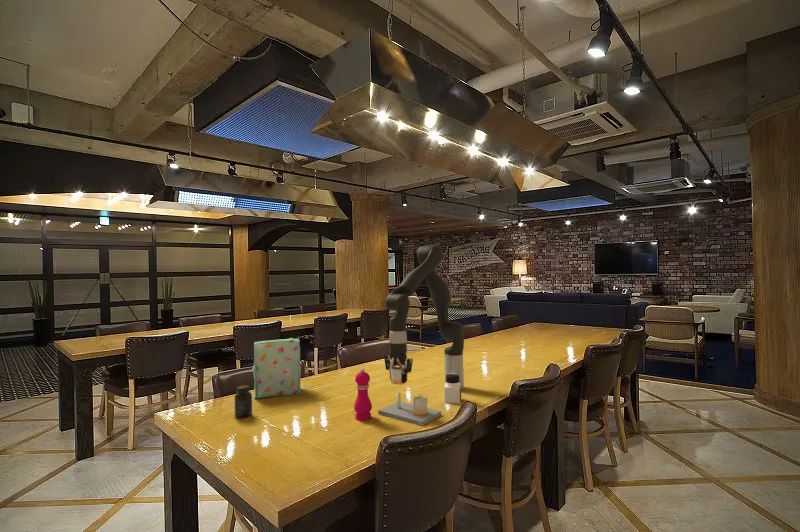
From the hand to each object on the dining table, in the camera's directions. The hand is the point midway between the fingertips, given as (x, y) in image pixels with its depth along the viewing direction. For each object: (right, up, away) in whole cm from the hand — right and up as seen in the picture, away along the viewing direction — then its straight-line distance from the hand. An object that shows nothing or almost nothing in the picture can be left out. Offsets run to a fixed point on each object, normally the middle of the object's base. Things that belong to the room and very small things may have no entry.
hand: (398, 381), depth 165 cm
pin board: (+5, -13, -4) cm, 14 cm away
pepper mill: (-14, -13, -7) cm, 20 cm away
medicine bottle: (+25, -13, +13) cm, 31 cm away
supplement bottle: (-65, -14, -2) cm, 66 cm away
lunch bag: (-60, -15, +29) cm, 68 cm away
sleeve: (0, 0, 0) cm, 0 cm away
